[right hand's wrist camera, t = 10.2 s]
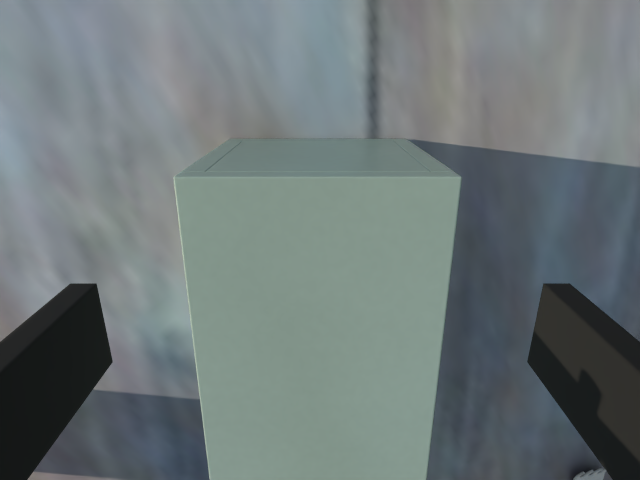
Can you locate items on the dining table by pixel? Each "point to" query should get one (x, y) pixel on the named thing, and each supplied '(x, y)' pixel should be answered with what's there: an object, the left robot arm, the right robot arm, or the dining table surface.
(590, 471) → the fork
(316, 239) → the cabinet
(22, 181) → the dining table surface
